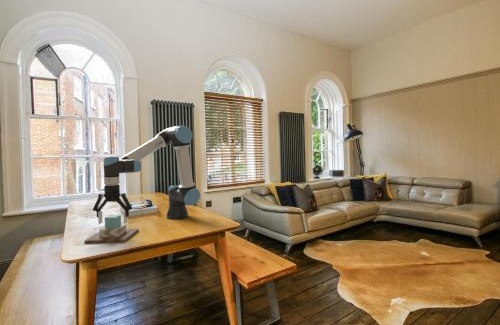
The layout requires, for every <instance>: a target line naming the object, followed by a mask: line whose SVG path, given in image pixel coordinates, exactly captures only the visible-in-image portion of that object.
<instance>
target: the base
mask: <svg viewBox="0 0 500 325" xmlns="http://www.w3.org/2000/svg"><path fill="white" fill-rule="evenodd" d="M138 232H140V230H139V228H127V223H124V224H121V226H120V227H118V228H115V229H105V226H104V227H102V228H100V229H99V232H97V233H96V234H93V235H92V236H90V237H88V238H87V239H85V240H84V241H83V242H84V245H85V244H86V245H87V244H120V243H123V244H124V243H126V242H127V241H129V240H130V238H132V237H134V236H135V235H136V234H137V233H138Z"/></svg>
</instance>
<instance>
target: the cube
mask: <svg viewBox="0 0 500 325" xmlns="http://www.w3.org/2000/svg"><path fill="white" fill-rule="evenodd" d="M121 225H122V214H109V215H107V216H105V217H104V227H105V229H115V228H118V227H120V226H121Z"/></svg>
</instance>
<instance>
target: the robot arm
mask: <svg viewBox="0 0 500 325" xmlns="http://www.w3.org/2000/svg"><path fill="white" fill-rule="evenodd" d="M193 136H194V135H193V131H192V130H191V128H189V126H186V125H175V126H169V127H167V128H165V129H163V130H162V131H160V132H159V133H157V134H156V135H155V137H154V138H152V139H150V140H148V141H147V142H145V143H144V144H142V145H140V146H139V147H136V148H135V149H134V150H132V151H130V152H128V153H127V154H124V156H122V157H119V156H104V158H103V166H102V167H103V183H104V188H103V190H104V193H102V192H101V193H99V194H98V195H97V199H96V202H95V204H94V206H93V208H92V211H93V212H96V218H97V219H98V222H97V223H98V225H101V224H103V211H102V209H103V208H104V207H105V206H106V205H107V204H108V203H111V202H112V203H115V202H116V203H117V204H118V205H119V206H120V207H121V208H122V209H123V223H124V224H127V223H128V218H129V215H130V213H129V212H130V211H131V210H132V209H133V206H132V205H131V203H130V201H129V199H128V197H127V193H126V192H123V193H121V192H120V191H121V189H120V188H121V187H120V174H130V173H131V174H132V173H139V172H141V170H142V162H141V160H144V159H145V158H147V157H148V156H150V155H151V154H153V153H154V152H156V151H158V150H159V149H161V148H165V147H167V146H168V145H172V148H173V149H175V156H176V157H175V158H176V162H177V170H178V177H179V184H177V185H170V186H169V187H168V208H167V212H166V218H167V219H168V220H181V218H182V219H186V218H188V217H189V212H188V209H187V206H194V205H196V204H198V202H199V200H200V199H201V192H200V190H199V189H198V188H197V186H196V183H195V182H194V180H193V172H192V171H193V170H192V164H191V157H190V149H189V148H190V146H191V141H192V139H193ZM120 197H121V198H122V199H121V198H120ZM103 198H105V199H104V200H103ZM102 200H103V201H102ZM122 200H123V201H122ZM101 202H102V203H101ZM185 217H186V218H185Z"/></svg>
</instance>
